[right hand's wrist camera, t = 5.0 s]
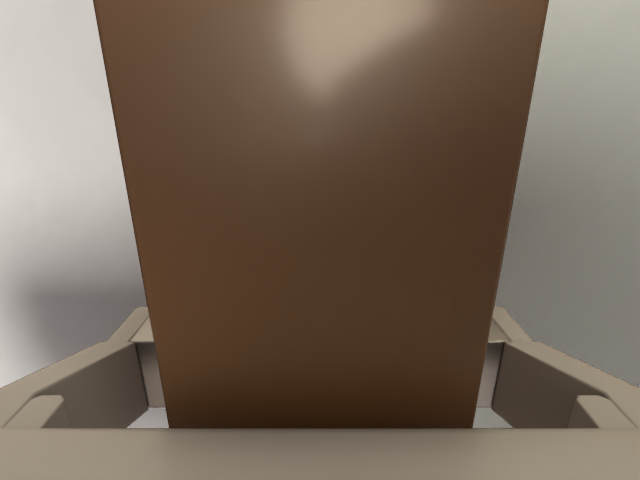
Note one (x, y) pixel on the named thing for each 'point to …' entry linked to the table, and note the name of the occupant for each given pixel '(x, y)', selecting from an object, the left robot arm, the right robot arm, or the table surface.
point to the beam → (320, 199)
